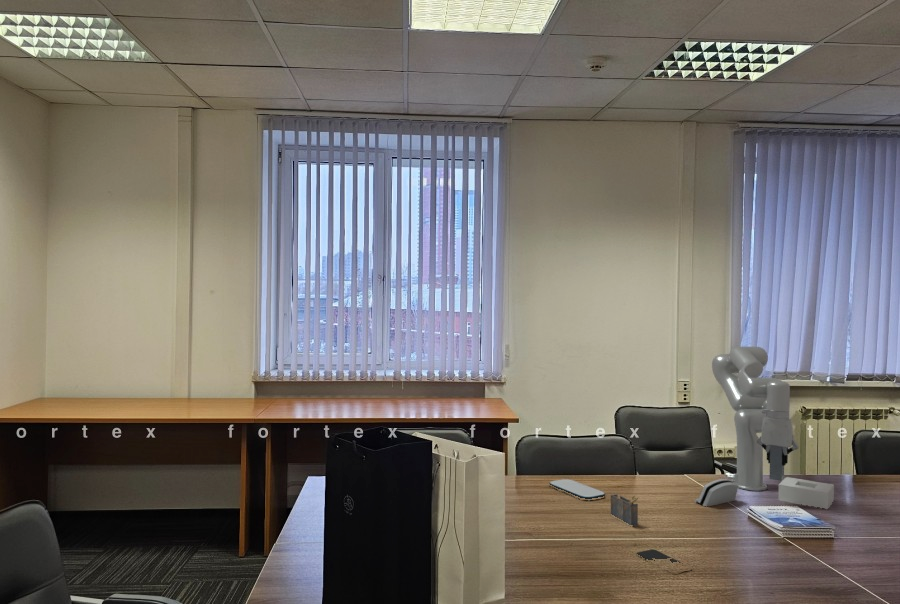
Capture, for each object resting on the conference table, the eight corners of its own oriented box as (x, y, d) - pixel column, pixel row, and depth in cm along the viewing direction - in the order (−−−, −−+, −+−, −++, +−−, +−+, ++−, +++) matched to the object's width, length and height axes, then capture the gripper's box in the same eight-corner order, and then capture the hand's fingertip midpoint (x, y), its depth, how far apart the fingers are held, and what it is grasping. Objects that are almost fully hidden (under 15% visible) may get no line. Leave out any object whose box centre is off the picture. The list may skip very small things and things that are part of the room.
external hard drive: (546, 486, 245) (546, 481, 245) (568, 483, 251) (568, 478, 251) (585, 503, 225) (585, 497, 225) (608, 498, 230) (608, 493, 230)
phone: (674, 573, 163) (634, 552, 177) (674, 576, 163) (634, 555, 177) (694, 568, 166) (653, 548, 180) (693, 571, 166) (653, 551, 180)
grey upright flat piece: (638, 526, 201) (638, 497, 201) (631, 528, 200) (631, 498, 200) (618, 515, 211) (618, 488, 211) (610, 516, 210) (610, 488, 210)
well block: (778, 500, 229) (778, 484, 229) (786, 492, 240) (786, 476, 240) (827, 509, 219) (827, 492, 219) (833, 500, 229) (833, 484, 229)
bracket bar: (769, 478, 224) (770, 441, 224) (772, 476, 227) (772, 439, 227) (781, 481, 222) (782, 443, 221) (783, 478, 225) (784, 441, 225)
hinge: (723, 496, 233) (731, 474, 230) (733, 504, 229) (741, 481, 226) (693, 503, 225) (701, 480, 222) (703, 510, 221) (711, 487, 218)
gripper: (750, 413, 227) (749, 461, 227) (801, 419, 216) (800, 470, 216) (755, 410, 232) (755, 457, 233) (805, 416, 222) (804, 465, 222)
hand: (777, 463), depth 224 cm, fingers closed on bracket bar, 4 cm apart
